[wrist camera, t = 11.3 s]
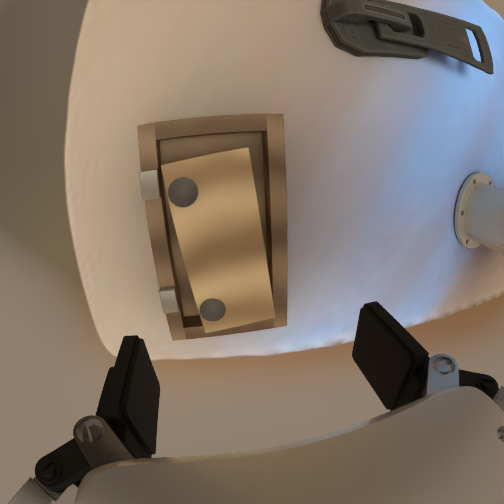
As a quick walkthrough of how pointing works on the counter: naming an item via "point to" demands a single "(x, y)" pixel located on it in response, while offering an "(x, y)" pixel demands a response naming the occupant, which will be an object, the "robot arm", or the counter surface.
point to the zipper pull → (401, 31)
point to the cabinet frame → (268, 197)
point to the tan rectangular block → (221, 237)
